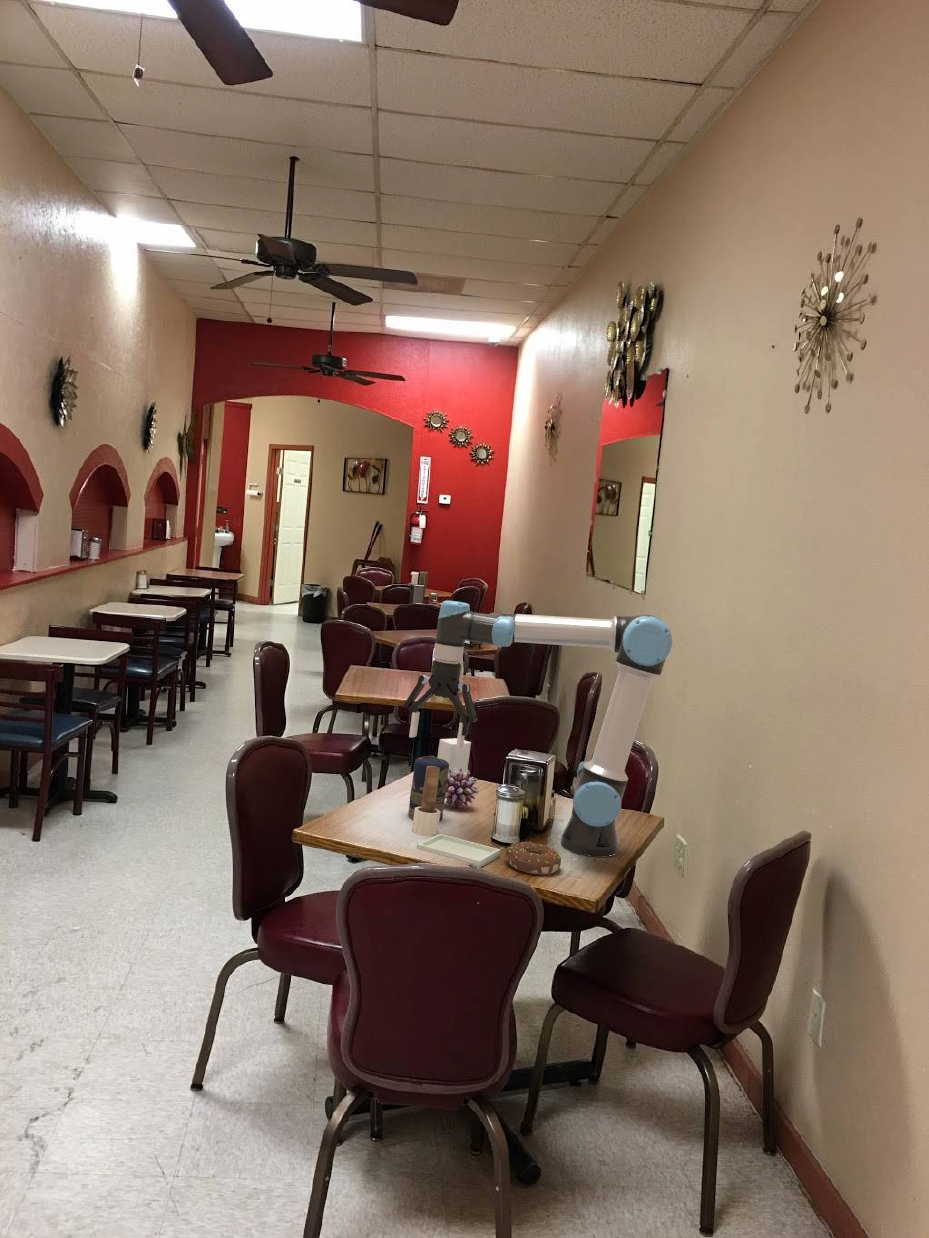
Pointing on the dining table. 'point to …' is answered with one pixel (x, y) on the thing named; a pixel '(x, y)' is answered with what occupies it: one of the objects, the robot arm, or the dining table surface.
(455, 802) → the flower
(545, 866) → the donut
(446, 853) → the tray
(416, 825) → the tumbler
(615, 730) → the robot arm
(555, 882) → the dining table surface
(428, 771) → the dowel
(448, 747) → the skincare box
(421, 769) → the canister
